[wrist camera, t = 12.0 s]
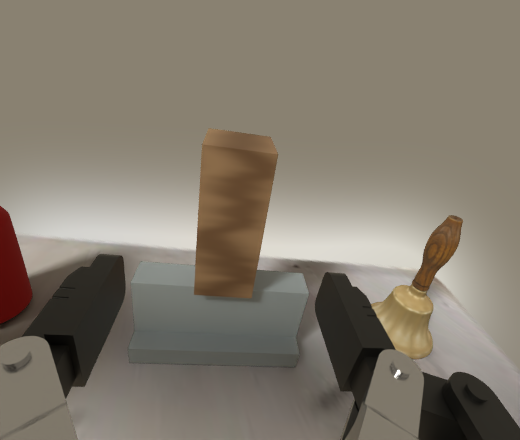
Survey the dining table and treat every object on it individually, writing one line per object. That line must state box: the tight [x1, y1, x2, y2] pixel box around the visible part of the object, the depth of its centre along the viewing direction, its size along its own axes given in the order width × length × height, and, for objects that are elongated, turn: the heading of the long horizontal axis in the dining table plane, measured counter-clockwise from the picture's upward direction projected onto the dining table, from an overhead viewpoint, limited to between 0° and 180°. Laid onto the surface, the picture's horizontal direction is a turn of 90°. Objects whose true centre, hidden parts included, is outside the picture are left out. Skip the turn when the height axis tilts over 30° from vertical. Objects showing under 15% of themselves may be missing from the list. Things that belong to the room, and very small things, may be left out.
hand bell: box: [371, 215, 463, 359], centre depth 32 cm, size 8×8×16 cm
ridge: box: [128, 261, 309, 367], centre depth 29 cm, size 16×7×8 cm, turn 94°
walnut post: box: [194, 128, 278, 298], centre depth 24 cm, size 5×5×13 cm
